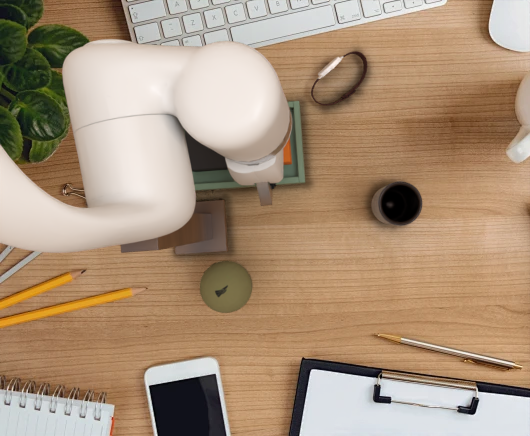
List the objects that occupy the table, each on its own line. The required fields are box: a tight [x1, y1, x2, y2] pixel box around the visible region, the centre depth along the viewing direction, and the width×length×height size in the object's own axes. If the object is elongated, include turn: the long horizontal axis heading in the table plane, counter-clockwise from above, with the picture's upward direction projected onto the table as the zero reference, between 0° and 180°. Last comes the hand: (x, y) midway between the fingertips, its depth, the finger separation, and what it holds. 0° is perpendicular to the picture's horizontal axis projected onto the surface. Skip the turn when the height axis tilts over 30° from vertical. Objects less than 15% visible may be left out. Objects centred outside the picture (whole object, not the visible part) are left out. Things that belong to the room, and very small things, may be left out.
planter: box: [370, 180, 423, 227], centre depth 67 cm, size 4×4×10 cm
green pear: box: [199, 260, 254, 314], centre depth 67 cm, size 6×6×10 cm
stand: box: [120, 199, 229, 256], centre depth 60 cm, size 6×6×24 cm
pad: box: [185, 130, 228, 172], centre depth 70 cm, size 5×5×3 cm
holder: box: [184, 100, 307, 192], centre depth 71 cm, size 14×9×2 cm, turn 94°
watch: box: [310, 50, 368, 107], centre depth 70 cm, size 8×5×4 cm, turn 132°
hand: (268, 144), depth 71 cm, fingers closed on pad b, 4 cm apart
